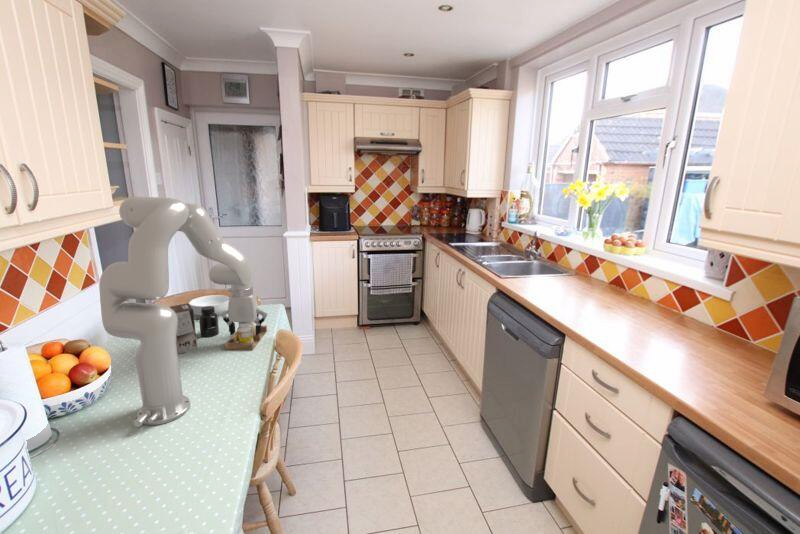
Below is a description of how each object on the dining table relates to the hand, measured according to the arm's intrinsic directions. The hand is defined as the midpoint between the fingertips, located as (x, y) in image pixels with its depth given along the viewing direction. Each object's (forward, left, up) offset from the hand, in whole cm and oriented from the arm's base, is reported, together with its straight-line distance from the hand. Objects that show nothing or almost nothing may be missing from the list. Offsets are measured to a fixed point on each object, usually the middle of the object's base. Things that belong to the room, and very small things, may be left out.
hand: (245, 333), depth 144 cm
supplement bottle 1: (+9, +18, -5) cm, 21 cm away
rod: (+8, 0, -4) cm, 9 cm away
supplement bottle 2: (0, 0, -5) cm, 5 cm away
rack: (+4, +1, -5) cm, 7 cm away
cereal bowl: (+32, +28, -5) cm, 43 cm away
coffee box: (-2, +22, -5) cm, 23 cm away
